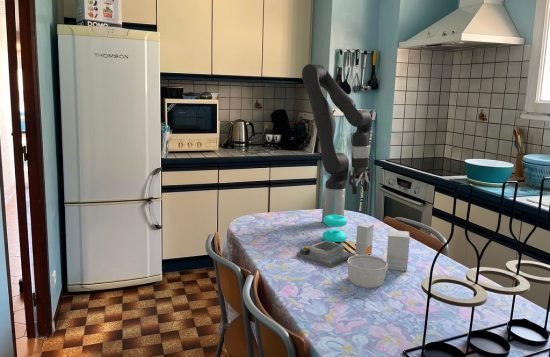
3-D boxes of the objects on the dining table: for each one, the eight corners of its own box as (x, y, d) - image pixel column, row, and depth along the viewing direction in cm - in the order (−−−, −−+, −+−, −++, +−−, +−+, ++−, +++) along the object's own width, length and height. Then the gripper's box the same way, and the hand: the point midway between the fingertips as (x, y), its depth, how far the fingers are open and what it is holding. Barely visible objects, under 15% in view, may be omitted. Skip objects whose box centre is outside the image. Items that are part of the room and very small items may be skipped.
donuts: (319, 214, 196) (340, 212, 199) (318, 237, 198) (338, 235, 201) (330, 221, 187) (352, 219, 190) (329, 244, 189) (350, 242, 192)
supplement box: (407, 264, 170) (409, 231, 167) (407, 271, 163) (410, 237, 160) (386, 261, 172) (388, 229, 169) (385, 269, 165) (388, 235, 162)
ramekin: (386, 292, 147) (388, 271, 145) (344, 287, 149) (346, 267, 148) (385, 275, 159) (387, 256, 158) (347, 271, 162) (348, 253, 161)
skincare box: (365, 258, 175) (367, 227, 173) (354, 255, 178) (356, 225, 175) (372, 253, 180) (374, 224, 177) (362, 251, 182) (364, 221, 180)
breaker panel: (296, 255, 175) (296, 245, 175) (318, 247, 186) (319, 237, 185) (330, 267, 165) (331, 257, 164) (352, 257, 175) (353, 247, 174)
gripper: (361, 154, 211) (361, 189, 214) (343, 157, 201) (343, 194, 203) (376, 155, 206) (375, 191, 208) (358, 158, 196) (358, 196, 198)
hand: (360, 192), depth 206 cm, fingers open, 8 cm apart
